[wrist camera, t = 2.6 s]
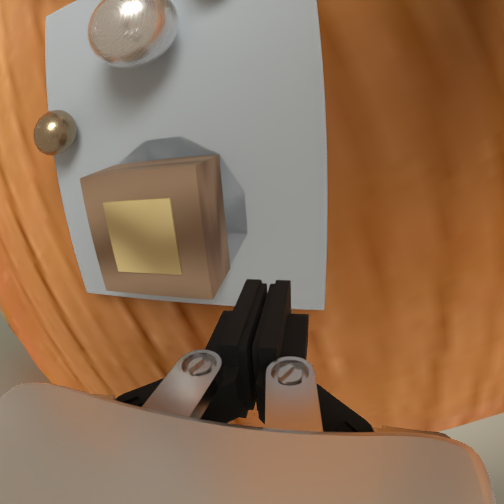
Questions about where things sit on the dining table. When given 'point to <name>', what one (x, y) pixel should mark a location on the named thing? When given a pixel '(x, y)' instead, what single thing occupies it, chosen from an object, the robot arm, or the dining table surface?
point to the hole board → (209, 131)
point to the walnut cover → (159, 226)
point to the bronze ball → (55, 132)
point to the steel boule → (132, 31)
